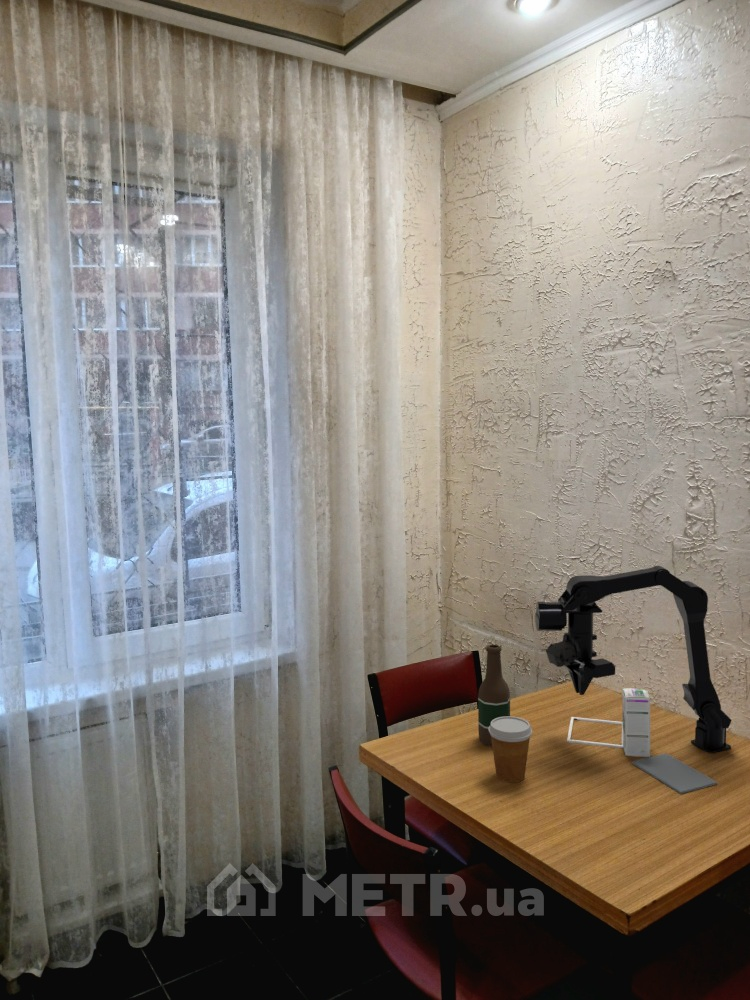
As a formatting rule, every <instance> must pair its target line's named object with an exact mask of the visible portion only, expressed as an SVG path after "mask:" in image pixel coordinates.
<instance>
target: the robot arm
mask: <svg viewBox="0 0 750 1000" xmlns="http://www.w3.org/2000/svg"><path fill="white" fill-rule="evenodd" d="M657 586H660V587H663V588H664V589H666V590H667V591H669V592H670V593H671V594H672V595H673V599H674V602H675V605H676V607H677V610H678V612H679V614H680V616H681V619H682V622H683V630H684V638H685V647H686V653H687V655H686V656H687V663H688V670H689V671H688V672H689V679H688V682H687V683H681V684H682V686H681V687H682V689H683V692H684V693H683V698H682V699H683V701H685V702H686V704H687V705H688V707H689V708H690V709H692V711H693V712H694V714H695V715H696V716H698V719H697V720H696V721H695V722H696V724H695V725H696V726H695V728H694V730H695V732H694V733H695V734H694V739H691V740H690V743H691V744H693V745H695V746H696V747H699V748H700V749H702V750H704V751H707V752H708V753H710V754H713V753H717V752H722V751H725V750H731V749H732V745H731V744H728V743H727V729H729V728H730V725H731V723H732V719H731V717H729V716H728V715H727V714H726V713H725V712H724V711H723V710H722V705H721V702H720V699H719V696H718V693H717V690H716V688H715V686H714V684H713V682H712V678H711V673H710V672H711V671H710V664H709V655H708V646H707V638H706V631H705V629H706V628H705V619H706V617H707V614H708V608H709V607H708V606H709V605H708V604H709V596H708V594H707V591H706V590H704V588H702V587H700V586H699V585H697V584H696V583H694V582H693V581H690V580H681V579H680V578H679V577H677V576H675V575H674V574H672V573H671V572H670V571H669V570H668V569H667V568H665V567H664V566H661V565H654V566H653V567H649V568H648V567H647V568H642V569H638V570H637V569H636V570H632V571H627V572H622V573H615V574H610V575H606V576H605V575H603V576H602V575H601V576H600V575H589V574H587V575H574V576H571V578H569V580H568V581H567V584H566V586H565V587H566V589H565V590H564V591H563V593H561V595H560V596H559V598H557V602H556V601H553V602H550V601H549V602H546V601H537V603H536V605H537V606H536V608H535V609H536V611H535V614H534V616H535V617H534V619H535V621H534V622H535V628H536V631H539V632H549V631H550V632H561V631H563V629H565V628H566V627H567V632H565V633H563V636H562V641H561V640H560V641H559V642H554V643H550V644H549V646H548V647H547V648H546V649H545V653H546V655H547V659H548V661H549V663H550V664H553V665H555V666H556V667H558V668H561V667H564V668H565V669H567V670H568V673H569V676H570V678H571V682H572V684H573V687H574V691H575V693H576V694H579V695H580V696H583V695H585V694H586V692H587V690H588V688H589V687H590V684H591V682H592V680H593V679H598V678H604V677H605V678H606V677H611V676H615V675H616V665H615V664H614V663H613V662H612V661H609V660H607V659H605V658H597V659H596V657H597V656H598V654H597V653H598V652H596V651H595V650H594V641H597V639H598V636H597V634H594V614H602V613H603V610H602V609H601V607H599V606H598V604H597V602H598V601H601V600H602V599H604V598H606V597H607V596H609V595H614V594H619V593H624V592H625V593H626V592H630V591H635V590H641V589H647V588H653V587H657ZM594 658H595V659H594Z"/></svg>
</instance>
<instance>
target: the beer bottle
mask: <svg viewBox="0 0 750 1000" xmlns="http://www.w3.org/2000/svg"><path fill="white" fill-rule="evenodd" d="M502 650H503V649H502V647H501V645H498V644H488V645H487V646H486V649H485V651H486V652H487V653H486V669H485V677H484V679H483V681H482V682H481V684H480V686H479V688H478V697H477V703H478V705H477V706H478V707H477V709H478V710H477V711H478V713H477V714H478V716H477V717H478V727H477V729H478V740H479V741H480V743H482V745H484V746H488V747H492V740H491V735H490V732H489V726H490V724H491V721H492V720H493V719H495V718H498V717H504V716H511V692H510V687H509V685H508V683H507V682H506V681H505V679H504V677H503V676H504V675H503V672H502V655H501V652H502Z"/></svg>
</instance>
